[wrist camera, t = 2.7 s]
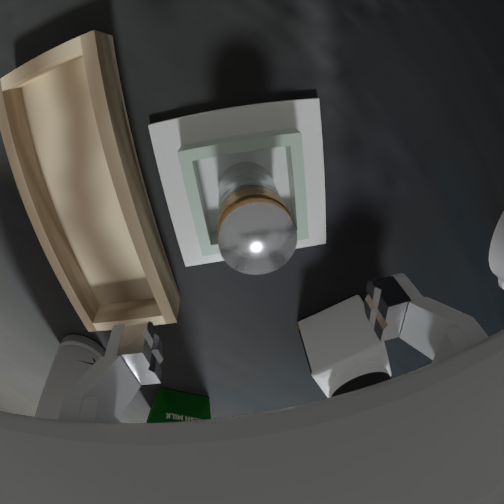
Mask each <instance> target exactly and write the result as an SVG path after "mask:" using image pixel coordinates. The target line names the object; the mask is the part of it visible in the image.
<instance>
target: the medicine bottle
mask: <svg viewBox="0 0 504 504" xmlns="http://www.w3.org/2000/svg"><path fill="white" fill-rule="evenodd" d="M297 326H298V329H299V333H300V336H301V340H302V343H303V347H304V350H305V354H306V358H307V361H308V365H309V368H310V372H311V375H312V377H313V378H314V379H315V381H316V382H317V384H318V385H319V386H320V388H321V389H322V391H323V392H324V393H325V395H326V396H327V397H328V398H330V397H334V396H337V395H341V394H345V393H348V392H352V391H355V390H359V389H362V388H365V387H368V386H371V385H375V384H378V383H381V382H384V381H387V380H390V379H391V375H392V373H391V369H390V364H389V360H388V356H387V352H386V347H385V343H384V341H382V342H380V340H379V338H378V337H377V335H376V333H375V331H374V326H375V324H373V323H371V322H369V320H368V319H367V316H366V314H365V308H364V303H363V301H362V299H361V297H360V296H359V295H355V296H352V297H350V298H348V299H346V300H344V301H342V302H340V303H338V304H336V305H334V306H332V307H329V308H327V309H325V310H323V311H321V312H319V313H316V314H314V315H312V316H310V317H307V318H305V319H303V320H301V321H299V322H298V323H297Z"/></svg>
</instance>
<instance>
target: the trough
mask: <svg viewBox="0 0 504 504" xmlns="http://www.w3.org/2000/svg"><path fill="white" fill-rule="evenodd" d="M0 130H1V134H2V138H3V142H4V146H5V149H6V153H7V156H8V160H9V163H10V166H11V169H12V172H13V175H14V178H15V181H16V184H17V187H18V190H19V193H20V195H21V198H22V201H23V203H24V206H25V209H26V211H27V214H28V216H29V219H30V221H31V223H32V226H33V228H34V230H35V233H36V235H37V237H38V239H39V242H40V244H41V246H42V248H43V250H44V252H45V255H46V257H47V259H48V261H49V263H50V265H51V267H52V269H53V271H54V273H55V275H56V276H57V278H58V280H59V282H60V284H61V286H62V288H63V289H64V291H65V293H66V295H67V297H68V298H69V300H70V302H71V304H72V305H73V307H74V309H75V310H76V312H77V314H78V315H79V317H80V319H81V320H82V322H83V324H84V325H85V327H86V328H87V330H88V332H92V331H104V330H112V328H113V326H114V325H119V324H127V323H137V322H146V321H150V322H152V323H153V325H162V324H170V323H177V319H178V311H179V303H180V293H179V291H178V288H177V285H176V282H175V279H174V277H173V274H172V271H171V268H170V265H169V262H168V259H167V256H166V253H165V250H164V247H163V244H162V241H161V237H160V234H159V231H158V228H157V225H156V221H155V218H154V215H153V211H152V208H151V205H150V201H149V198H148V194H147V191H146V187H145V184H144V180H143V176H142V173H141V169H140V165H139V161H138V157H137V153H136V149H135V145H134V141H133V137H132V133H131V129H130V125H129V120H128V116H127V111H126V107H125V102H124V97H123V92H122V87H121V82H120V77H119V72H118V66H117V60H116V55H115V49H114V42H113V36H111V35H108V34H105V33H102V32H99V31H96V30H93V31H90V32H88V33H85V34H83V35H81V36H78V37H76V38H74V39H72V40H69V41H67V42H65V43H63V44H61V45H59V46H57V47H55V48H53V49H51V50H49V51H47V52H45V53H43V54H41V55H39V56H37V57H36V58H34V59H32V60H30V61H28V62H27V63H25V64H23V65H22V66H20V67H18V68H17V69H15V70H13V71H12V72H10V73H8V74H7V75H5V76H4V77H2V78H1V79H0Z"/></svg>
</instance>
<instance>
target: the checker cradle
mask: <svg viewBox="0 0 504 504" xmlns="http://www.w3.org/2000/svg"><path fill="white" fill-rule="evenodd" d="M148 128H149V132H150V137H151V141H152V145H153V149H154V154H155V158H156V162H157V166H158V170H159V174H160V178H161V182H162V186H163V189H164V193H165V197H166V201H167V204H168V208H169V212H170V215H171V219H172V222H173V226H174V229H175V233H176V236H177V240H178V243H179V247H180V250H181V253H182V257H183V260H184V263H185V266H186V267H188V266H194V265H200V264H206V263H212V262H218V261H224V259H223V257H222V255H221V253H220V250H219V245H218V240H217V228H218V197H219V181H220V178H221V176H222V174H223V173H224V172H225V171H226V170H227V169H228V168H229V167H230V166H232V165H234V164H236V163H239V162H254V163H257V164H259V165H261V166H263V167H264V168H265V169H266V170H267V171H268V173H269V174H270V176H271V178H272V180H273V182H274V184H275V186H276V188H277V190H278V192H279V194H280V196H281V198H282V200H283V201H284V203H285V205H286V207H287V209H288V211H289V213H290V215H291V217H292V219H293V221H294V224H295V227H296V231H297V245H296V248H302V247H308V246H314V245H320V244H326V208H325V179H324V159H323V142H322V128H321V116H320V104H319V98H308V99H295V100H284V101H274V102H266V103H257V104H250V105H243V106H236V107H230V108H224V109H218V110H212V111H207V112H201V113H196V114H191V115H187V116H182V117H177V118H173V119H169V120H164V121H160V122H156V123H152V124H149V125H148ZM296 248H295V249H296Z"/></svg>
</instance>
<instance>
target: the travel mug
mask: <svg viewBox="0 0 504 504" xmlns="http://www.w3.org/2000/svg"><path fill="white" fill-rule="evenodd" d="M104 356H105V350H104V349H103V348H102V347H101V346H100V345H99V344H98V343H97V342H95V341H94V340H92V339H90V338H88V337H85V336H82V335H76V334H72V335H67V336H66V337H64V338H63V339H62V341H61V344H60V346H59V349H58V351H57V354H56V356H55V359H54V362H53V364H52V367H51V369H50V372H49V375H48V378H47V380H46V383H45V386H44V389H43V392H42V395H41V398H40V401H39V404H38V407H37V411H36V414H35V417H39V418H47V419H56V420H58V416H59V413H60V409H61V405H62V401H63V398H64V394H65V393H66V392H67V391H68V390H69V389H70V388H71V387H72V386H73V385H74V384H75V383H76V382H77V381H78V380H79V379H80V378H81V377H82V376H83V375H84V374H85V373H86V372H87V371H88V370H89V369H90V368H91V367H92V366H93V364H94V363H95V362H96V361H97V360H98V359H99V358H100V357H104Z"/></svg>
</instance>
